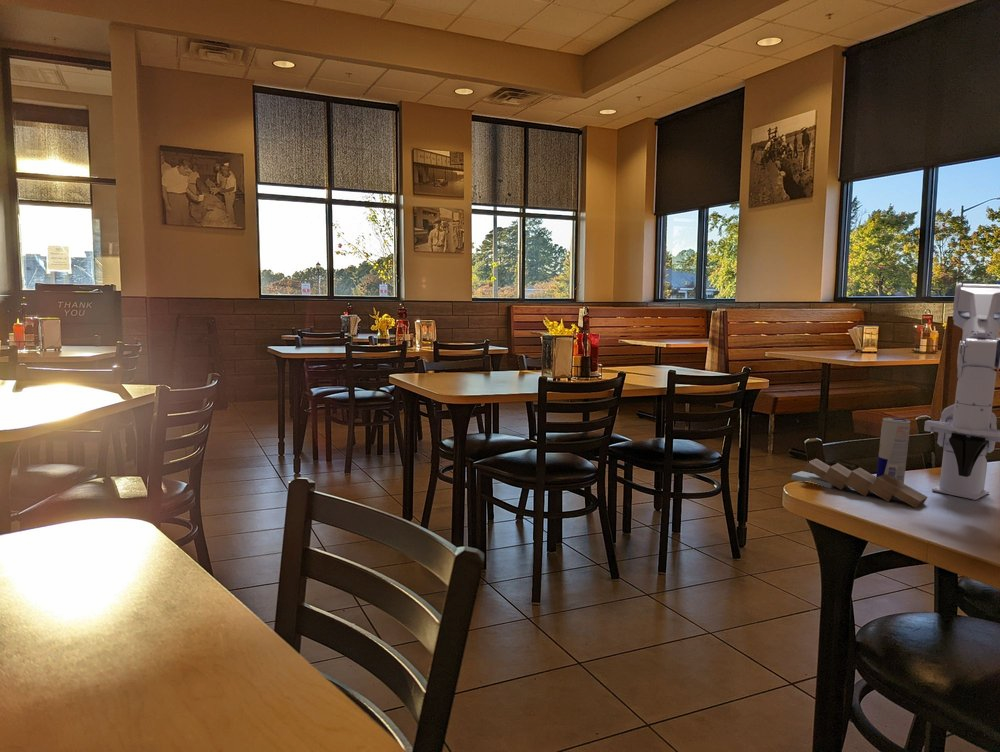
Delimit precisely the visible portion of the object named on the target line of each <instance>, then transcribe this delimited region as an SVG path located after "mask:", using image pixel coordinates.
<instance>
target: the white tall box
mask: <svg viewBox="0 0 1000 752" xmlns="http://www.w3.org/2000/svg"><path fill="white" fill-rule="evenodd" d="M910 423H911V420H909V419H904V418H899V417H898V418H897V417H883V418H882V421H881V428H880V440H879V447H878V448H879V449H878V457H877V468H876V475H875V477H879V476H881V475H884V474H887V475H889V476H891V477H892V478H894V479H896V480H898V481H900V482H901V483H903V484H905V477H906V476H905V474H906V466H907V460H908V459H907V458H908V450H909V448H908V447H909V440H910V439H909V438H910V430H911V424H910Z"/></svg>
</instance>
